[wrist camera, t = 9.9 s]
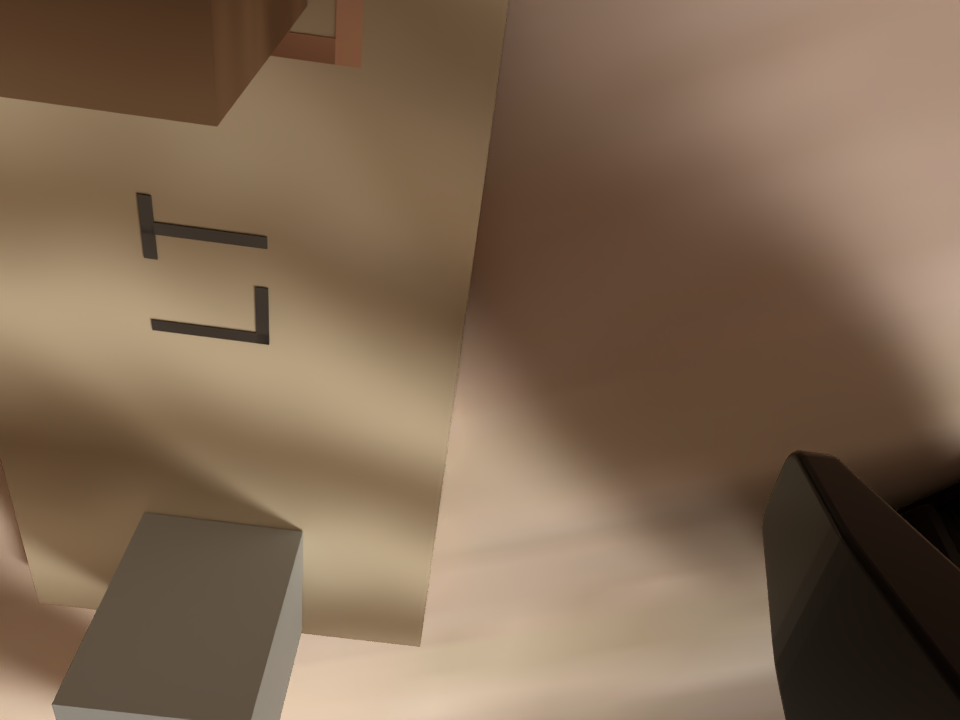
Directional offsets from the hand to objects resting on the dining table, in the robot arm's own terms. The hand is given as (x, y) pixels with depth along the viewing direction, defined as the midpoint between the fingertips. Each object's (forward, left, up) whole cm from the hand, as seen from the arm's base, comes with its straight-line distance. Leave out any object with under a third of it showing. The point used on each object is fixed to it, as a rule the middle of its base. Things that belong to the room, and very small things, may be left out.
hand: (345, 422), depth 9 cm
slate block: (-7, +15, -11) cm, 19 cm away
